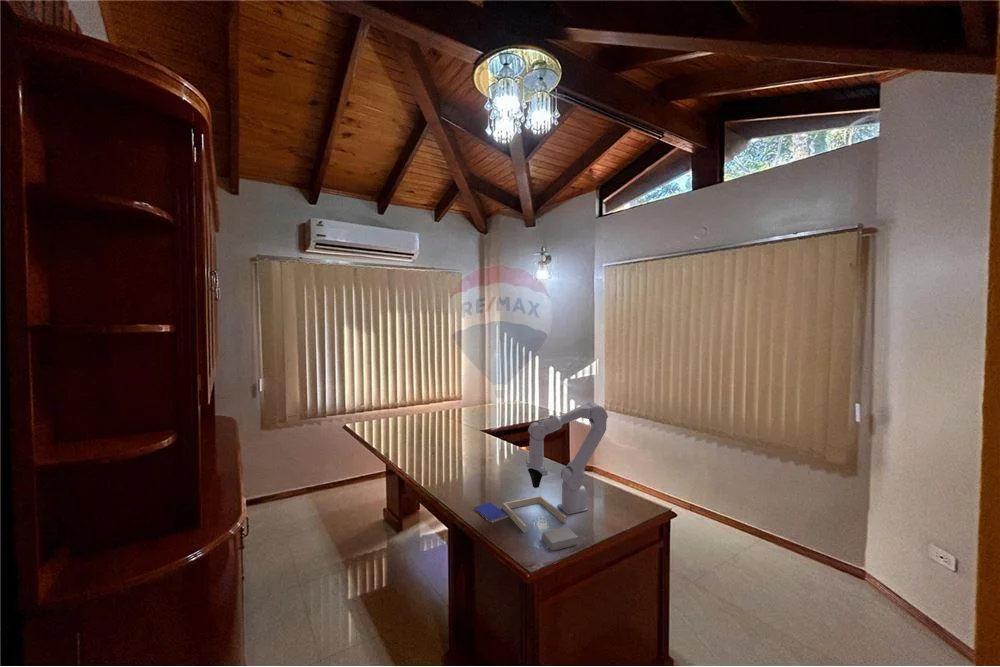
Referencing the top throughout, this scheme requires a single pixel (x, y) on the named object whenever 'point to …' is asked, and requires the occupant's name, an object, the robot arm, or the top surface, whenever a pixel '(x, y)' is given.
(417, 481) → the top surface
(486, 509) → the hard drive
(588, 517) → the top surface
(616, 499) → the top surface
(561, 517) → the beige u-shaped frame
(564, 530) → the gray rectangular block
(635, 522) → the top surface
